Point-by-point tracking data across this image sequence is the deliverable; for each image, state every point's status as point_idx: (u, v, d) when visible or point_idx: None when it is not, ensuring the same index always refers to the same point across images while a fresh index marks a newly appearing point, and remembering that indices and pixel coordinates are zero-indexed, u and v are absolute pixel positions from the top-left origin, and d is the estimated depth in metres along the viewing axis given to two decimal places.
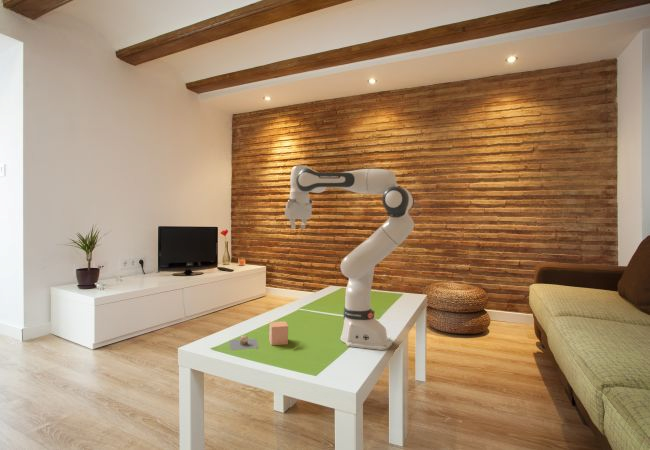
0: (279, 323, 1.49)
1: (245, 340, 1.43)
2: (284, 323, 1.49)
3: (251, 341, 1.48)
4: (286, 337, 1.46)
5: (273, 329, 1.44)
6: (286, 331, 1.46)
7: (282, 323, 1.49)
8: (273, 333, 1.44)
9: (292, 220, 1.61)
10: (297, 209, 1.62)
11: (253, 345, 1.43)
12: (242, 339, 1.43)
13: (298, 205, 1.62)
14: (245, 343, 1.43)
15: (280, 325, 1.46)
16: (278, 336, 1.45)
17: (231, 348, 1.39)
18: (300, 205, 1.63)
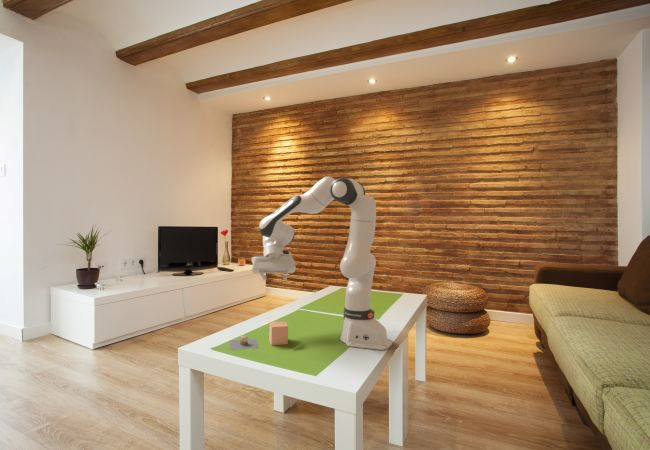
0: (279, 323, 1.49)
1: (245, 340, 1.43)
2: (284, 323, 1.49)
3: (251, 341, 1.48)
4: (286, 337, 1.46)
5: (273, 329, 1.44)
6: (286, 331, 1.46)
7: (282, 323, 1.49)
8: (273, 333, 1.44)
9: (260, 272, 1.62)
10: (265, 261, 1.65)
11: (253, 345, 1.43)
12: (242, 339, 1.43)
13: (265, 258, 1.66)
14: (245, 343, 1.43)
15: (280, 325, 1.46)
16: (278, 336, 1.45)
17: (231, 348, 1.39)
18: (268, 257, 1.66)
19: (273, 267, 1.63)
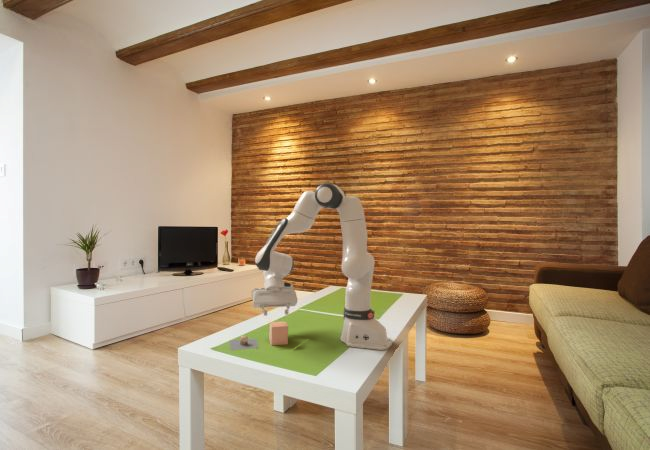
0: (279, 323, 1.49)
1: (245, 340, 1.43)
2: (284, 323, 1.49)
3: (251, 341, 1.48)
4: (286, 337, 1.46)
5: (273, 329, 1.44)
6: (286, 331, 1.46)
7: (282, 323, 1.49)
8: (273, 333, 1.44)
9: (260, 307, 1.56)
10: (266, 295, 1.59)
11: (253, 345, 1.43)
12: (242, 339, 1.43)
13: (266, 291, 1.61)
14: (245, 343, 1.43)
15: (280, 325, 1.46)
16: (278, 336, 1.45)
17: (231, 348, 1.39)
18: (269, 290, 1.61)
19: (274, 301, 1.58)
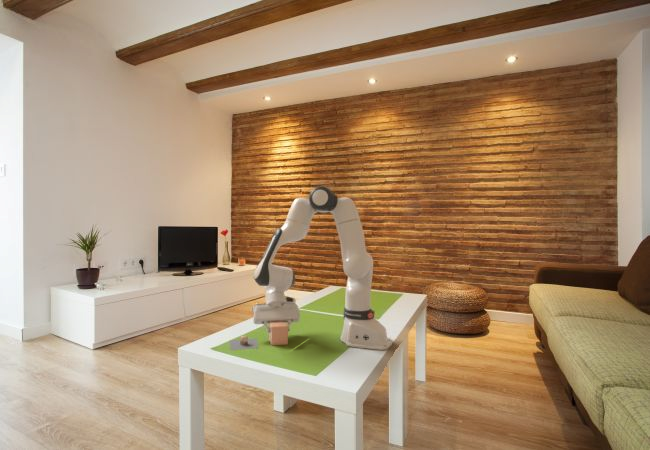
0: (279, 323, 1.49)
1: (245, 340, 1.43)
2: (284, 323, 1.49)
3: (251, 341, 1.48)
4: (286, 337, 1.46)
5: (273, 329, 1.44)
6: (286, 331, 1.46)
7: (282, 323, 1.49)
8: (273, 333, 1.44)
9: (263, 323, 1.50)
10: (267, 311, 1.53)
11: (253, 345, 1.43)
12: (242, 339, 1.43)
13: (268, 306, 1.54)
14: (245, 343, 1.43)
15: (280, 325, 1.46)
16: (278, 336, 1.45)
17: (231, 348, 1.39)
18: (271, 306, 1.54)
19: (276, 317, 1.51)
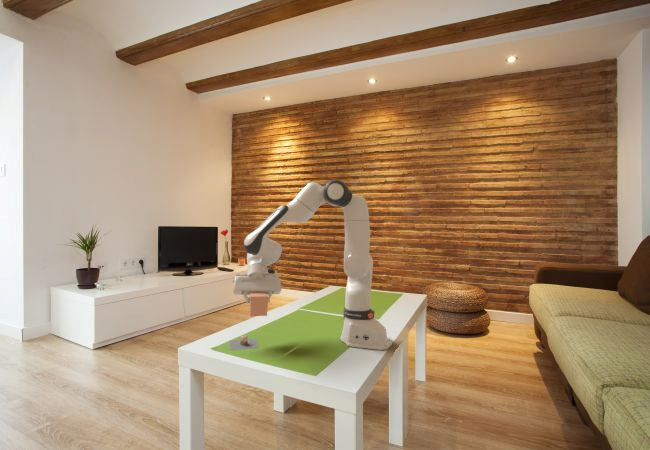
0: (259, 294, 1.47)
1: (245, 340, 1.43)
2: (264, 294, 1.47)
3: (251, 341, 1.48)
4: (265, 307, 1.44)
5: (252, 299, 1.42)
6: (266, 301, 1.44)
7: (262, 294, 1.47)
8: (252, 303, 1.42)
9: (243, 294, 1.48)
10: (248, 281, 1.51)
11: (253, 345, 1.43)
12: (242, 339, 1.43)
13: (249, 277, 1.52)
14: (245, 343, 1.43)
15: (260, 295, 1.44)
16: (257, 306, 1.43)
17: (231, 348, 1.39)
18: (252, 277, 1.52)
19: (256, 288, 1.49)
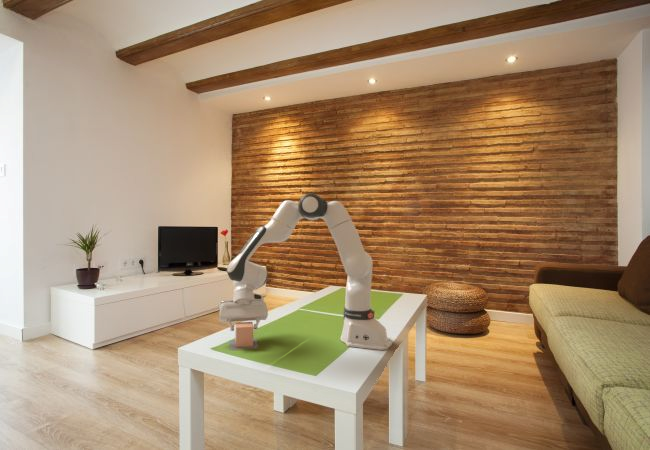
0: (245, 323, 1.45)
1: None
2: (250, 323, 1.46)
3: None
4: (251, 338, 1.42)
5: (238, 330, 1.40)
6: (251, 332, 1.42)
7: (248, 323, 1.45)
8: (238, 334, 1.40)
9: (227, 321, 1.46)
10: (233, 308, 1.49)
11: (253, 345, 1.43)
12: None
13: (234, 304, 1.50)
14: None
15: (245, 326, 1.43)
16: (242, 337, 1.41)
17: (231, 348, 1.39)
18: (238, 303, 1.50)
19: (242, 315, 1.47)
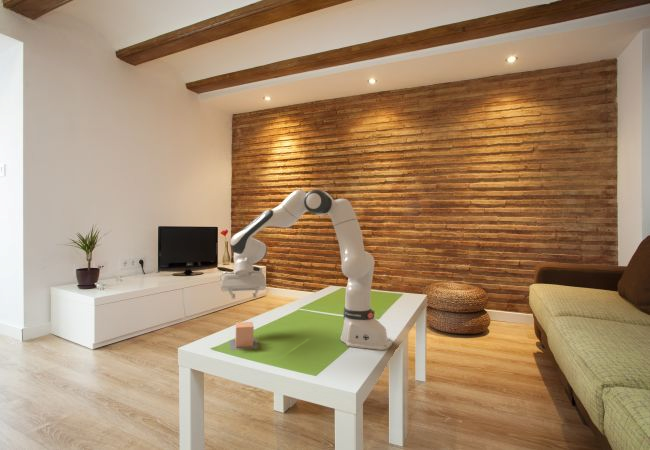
0: (245, 323, 1.45)
1: None
2: (250, 323, 1.46)
3: None
4: (251, 338, 1.42)
5: (238, 330, 1.40)
6: (251, 332, 1.42)
7: (248, 323, 1.45)
8: (238, 334, 1.40)
9: (229, 290, 1.58)
10: (234, 279, 1.61)
11: (253, 345, 1.43)
12: None
13: (235, 275, 1.62)
14: None
15: (245, 326, 1.43)
16: (242, 337, 1.41)
17: (231, 348, 1.39)
18: (238, 274, 1.63)
19: (242, 285, 1.60)
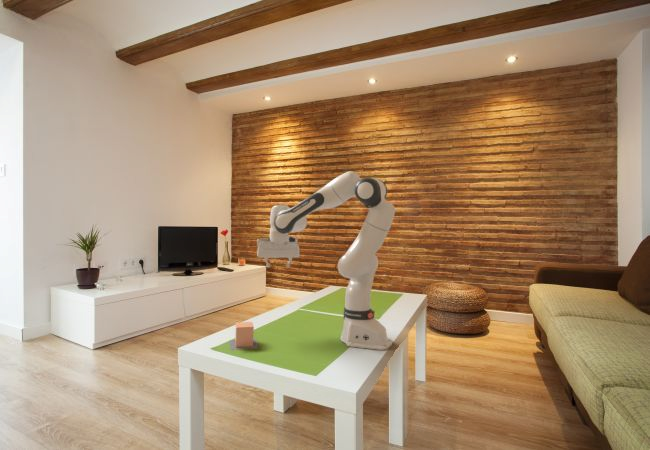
0: (245, 323, 1.45)
1: None
2: (250, 323, 1.46)
3: None
4: (251, 338, 1.42)
5: (238, 330, 1.40)
6: (251, 332, 1.42)
7: (248, 323, 1.45)
8: (238, 334, 1.40)
9: (264, 258, 1.67)
10: (270, 248, 1.66)
11: (253, 345, 1.43)
12: None
13: (271, 244, 1.66)
14: None
15: (245, 326, 1.43)
16: (242, 337, 1.41)
17: (231, 348, 1.39)
18: (274, 244, 1.66)
19: (277, 255, 1.67)
